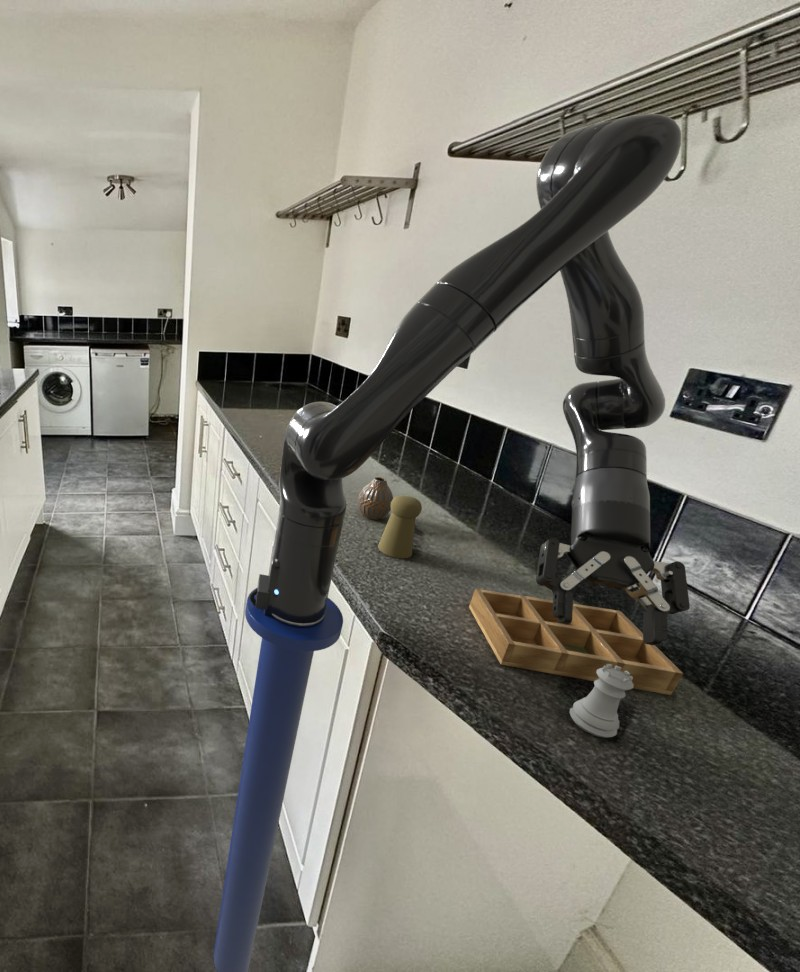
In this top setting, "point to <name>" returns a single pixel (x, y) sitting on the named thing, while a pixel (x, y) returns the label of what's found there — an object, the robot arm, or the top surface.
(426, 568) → the top surface
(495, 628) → the grid
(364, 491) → the vase
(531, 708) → the top surface
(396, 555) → the cork
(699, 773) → the top surface
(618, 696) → the rook chess piece
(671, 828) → the top surface
